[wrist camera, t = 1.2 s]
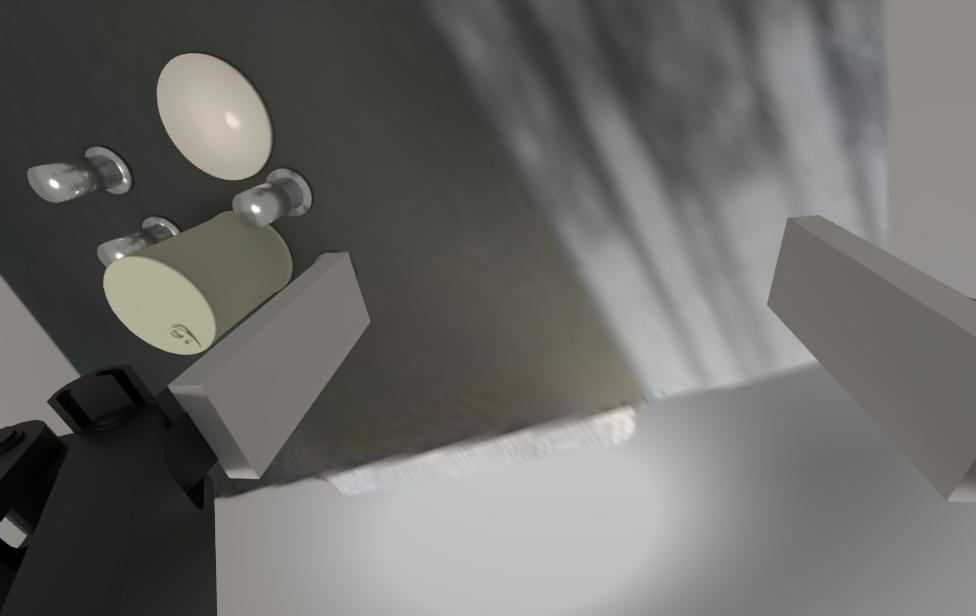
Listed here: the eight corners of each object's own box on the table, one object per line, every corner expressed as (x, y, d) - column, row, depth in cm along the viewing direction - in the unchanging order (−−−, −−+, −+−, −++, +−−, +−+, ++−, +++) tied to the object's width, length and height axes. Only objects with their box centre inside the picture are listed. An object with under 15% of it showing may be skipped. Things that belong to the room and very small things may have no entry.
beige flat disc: (144, 112, 36) (138, 112, 36) (195, 22, 32) (189, 22, 32) (237, 199, 39) (233, 201, 39) (295, 128, 35) (291, 129, 35)
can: (251, 304, 46) (165, 372, 35) (189, 233, 42) (73, 286, 32) (311, 273, 43) (234, 337, 32) (249, 194, 39) (141, 238, 29)
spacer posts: (75, 179, 41) (6, 195, 35) (155, 25, 33) (81, 17, 27) (278, 349, 49) (246, 382, 43) (383, 259, 40) (359, 286, 35)
